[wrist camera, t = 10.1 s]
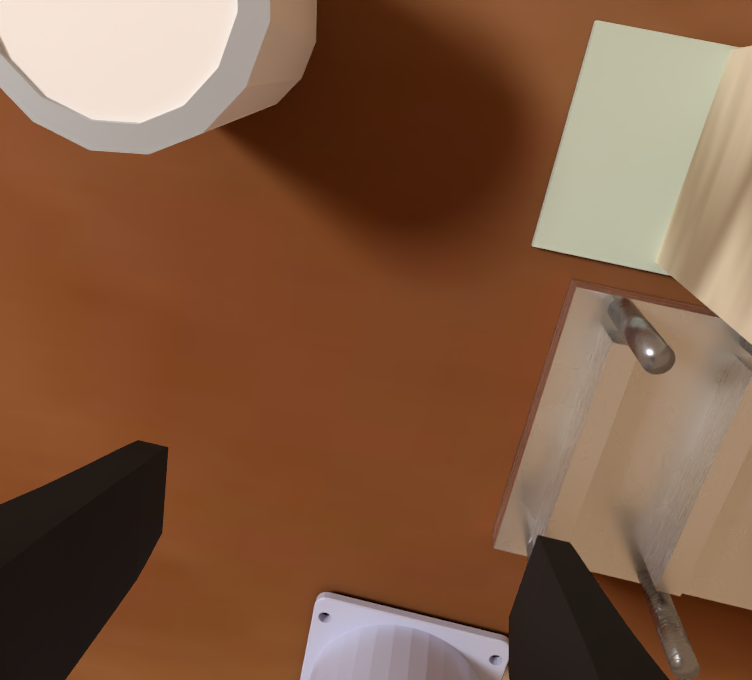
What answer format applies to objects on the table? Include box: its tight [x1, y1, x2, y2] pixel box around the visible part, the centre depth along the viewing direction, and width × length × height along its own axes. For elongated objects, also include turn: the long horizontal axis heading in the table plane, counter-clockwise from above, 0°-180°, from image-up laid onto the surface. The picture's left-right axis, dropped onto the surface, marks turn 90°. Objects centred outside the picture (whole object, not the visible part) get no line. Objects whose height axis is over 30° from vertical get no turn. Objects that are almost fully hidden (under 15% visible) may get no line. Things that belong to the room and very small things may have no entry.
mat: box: [532, 20, 739, 276], centre depth 18 cm, size 6×10×1 cm, turn 79°
